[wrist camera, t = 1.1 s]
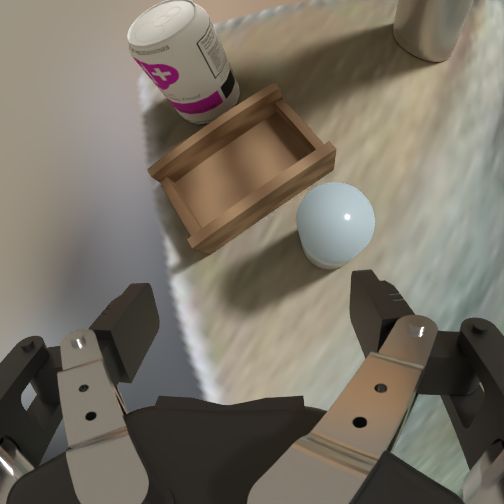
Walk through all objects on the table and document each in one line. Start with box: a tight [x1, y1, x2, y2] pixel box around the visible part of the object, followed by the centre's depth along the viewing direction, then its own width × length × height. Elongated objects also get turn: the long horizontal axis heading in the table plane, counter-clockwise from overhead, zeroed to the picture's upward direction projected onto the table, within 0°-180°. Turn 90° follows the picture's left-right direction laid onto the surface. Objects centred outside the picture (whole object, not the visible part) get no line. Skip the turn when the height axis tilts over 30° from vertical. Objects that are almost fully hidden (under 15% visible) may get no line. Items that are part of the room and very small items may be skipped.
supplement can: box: [127, 0, 240, 124], centre depth 29 cm, size 8×8×15 cm
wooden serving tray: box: [148, 82, 336, 255], centre depth 31 cm, size 16×10×5 cm, turn 123°
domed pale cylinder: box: [297, 182, 375, 269], centre depth 26 cm, size 6×6×10 cm
